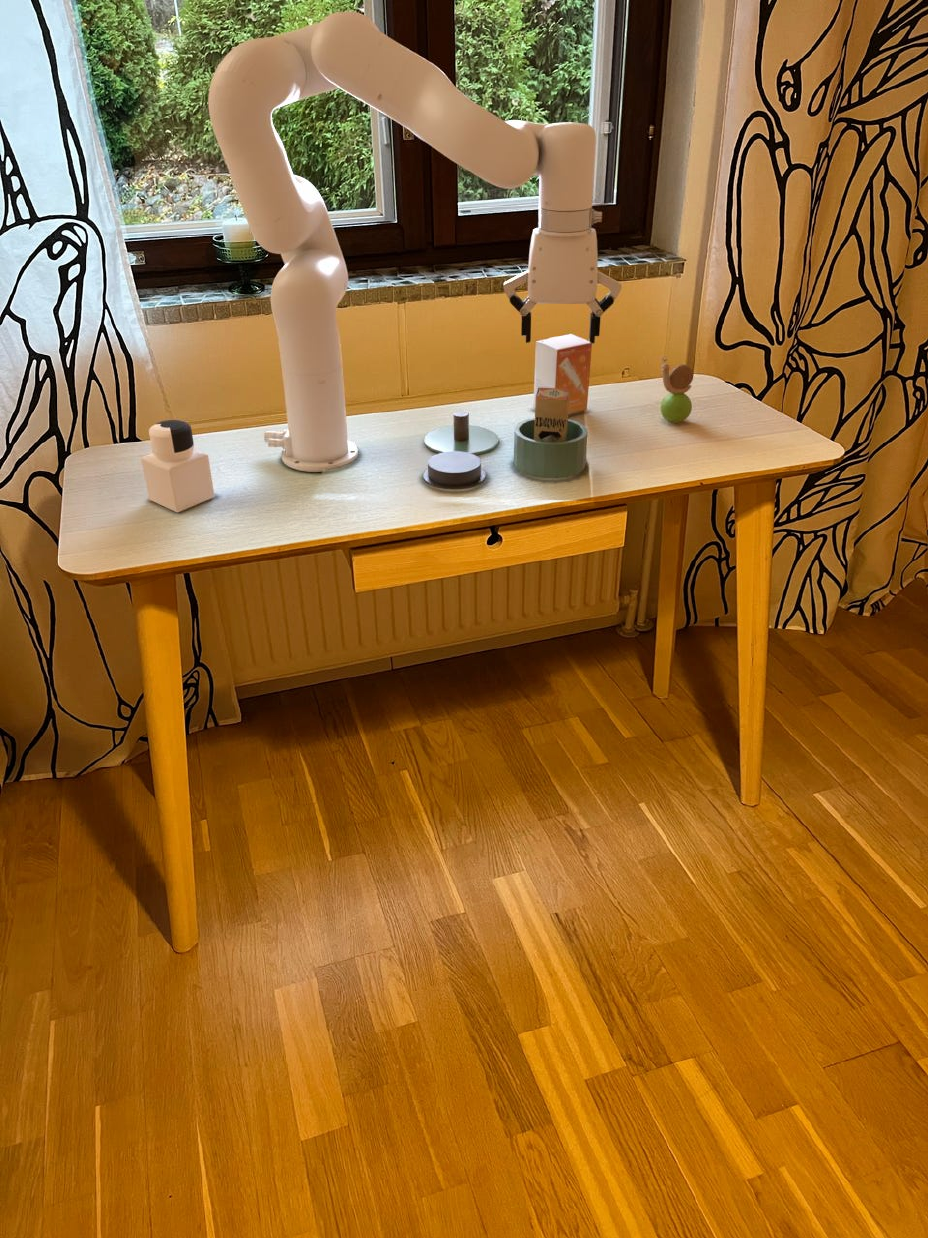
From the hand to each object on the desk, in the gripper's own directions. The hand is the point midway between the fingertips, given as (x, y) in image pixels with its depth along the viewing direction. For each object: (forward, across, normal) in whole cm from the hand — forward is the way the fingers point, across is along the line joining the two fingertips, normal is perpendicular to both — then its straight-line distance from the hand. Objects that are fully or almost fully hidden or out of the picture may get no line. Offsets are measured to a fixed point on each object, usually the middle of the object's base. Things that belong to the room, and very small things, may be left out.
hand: (559, 340), depth 147 cm
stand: (+20, +16, +6) cm, 27 cm away
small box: (+21, -1, -25) cm, 33 cm away
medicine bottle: (+20, +57, +16) cm, 62 cm away
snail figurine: (+21, -21, -21) cm, 36 cm away
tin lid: (+20, +16, -8) cm, 27 cm away
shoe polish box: (+20, +1, 0) cm, 21 cm away
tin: (+21, +1, 0) cm, 21 cm away
